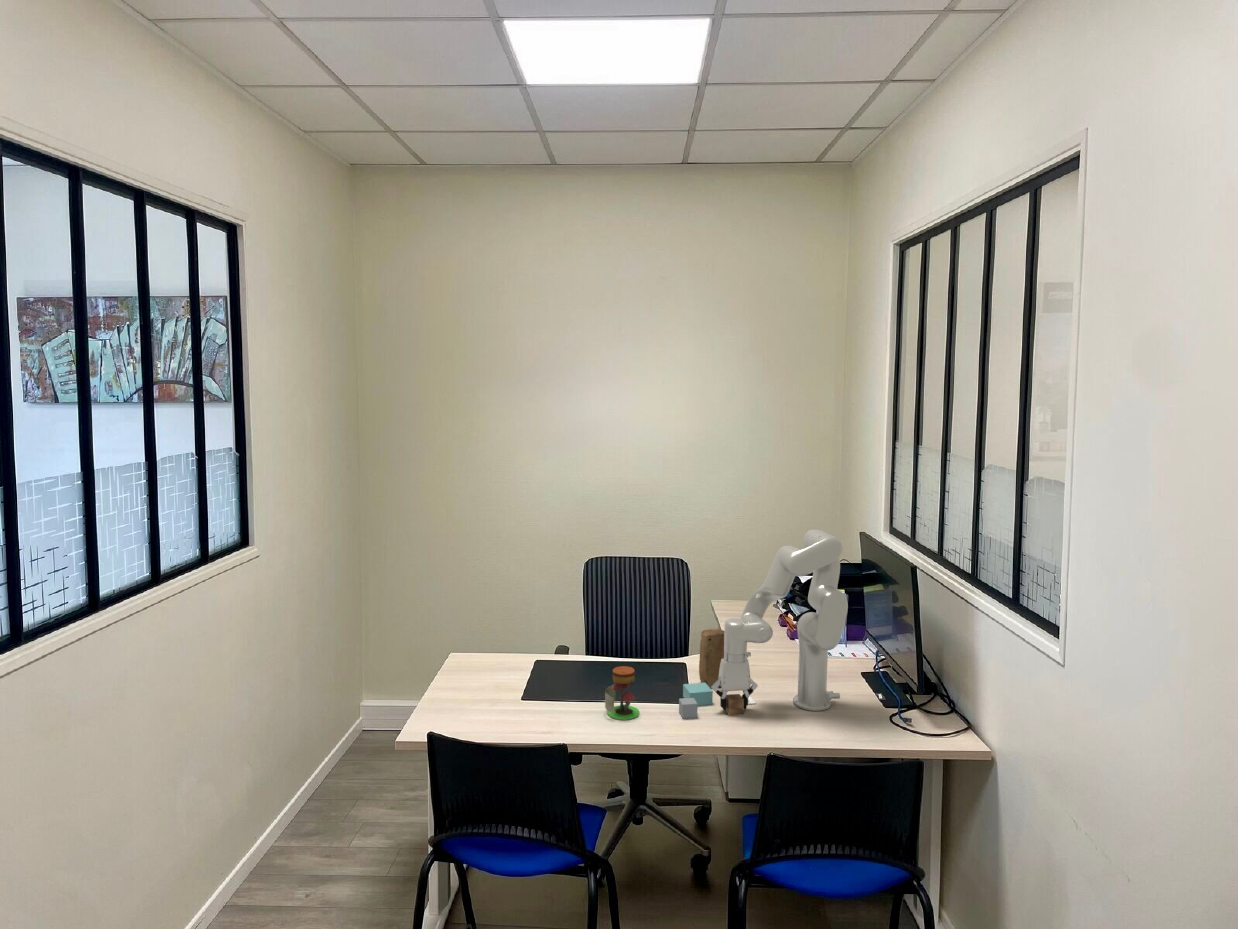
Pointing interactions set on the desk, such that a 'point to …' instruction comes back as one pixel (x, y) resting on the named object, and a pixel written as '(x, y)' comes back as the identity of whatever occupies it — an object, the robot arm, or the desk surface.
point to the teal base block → (698, 693)
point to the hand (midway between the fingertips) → (734, 707)
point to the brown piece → (711, 655)
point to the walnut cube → (734, 704)
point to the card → (750, 701)
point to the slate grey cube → (688, 708)
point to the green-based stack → (621, 681)
